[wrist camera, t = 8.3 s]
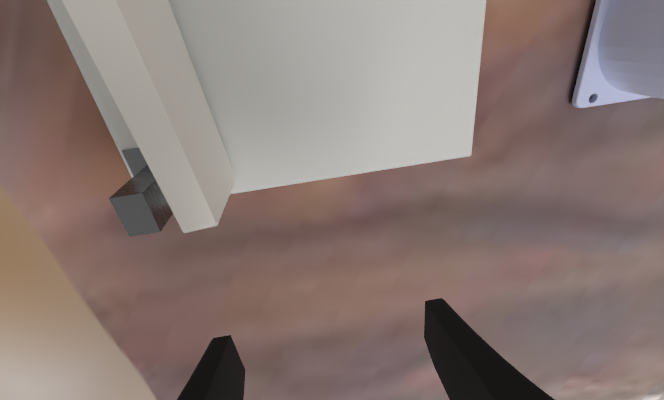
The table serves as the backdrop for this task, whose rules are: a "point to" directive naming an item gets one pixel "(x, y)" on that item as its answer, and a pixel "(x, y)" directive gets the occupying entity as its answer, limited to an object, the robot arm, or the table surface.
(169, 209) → the dark grey stepped block
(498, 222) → the table surface
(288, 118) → the mat
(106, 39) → the gate
